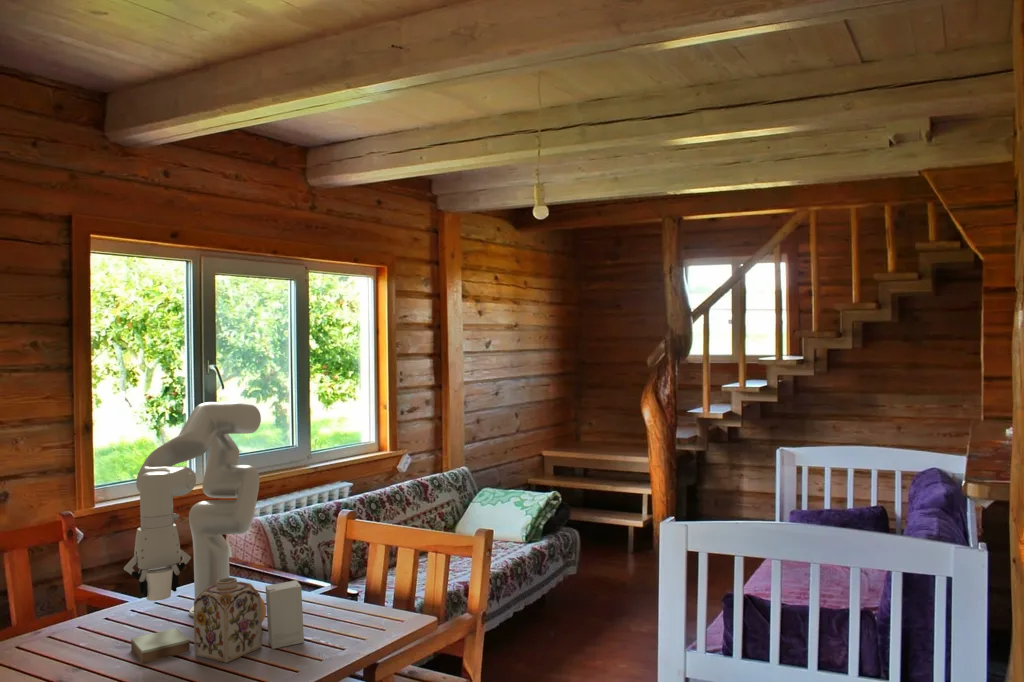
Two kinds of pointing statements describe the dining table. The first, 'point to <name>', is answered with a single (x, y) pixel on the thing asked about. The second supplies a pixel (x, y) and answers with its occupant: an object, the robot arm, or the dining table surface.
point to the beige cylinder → (159, 583)
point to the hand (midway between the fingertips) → (158, 592)
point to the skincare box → (284, 614)
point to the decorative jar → (227, 620)
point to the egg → (263, 610)
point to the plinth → (160, 645)
